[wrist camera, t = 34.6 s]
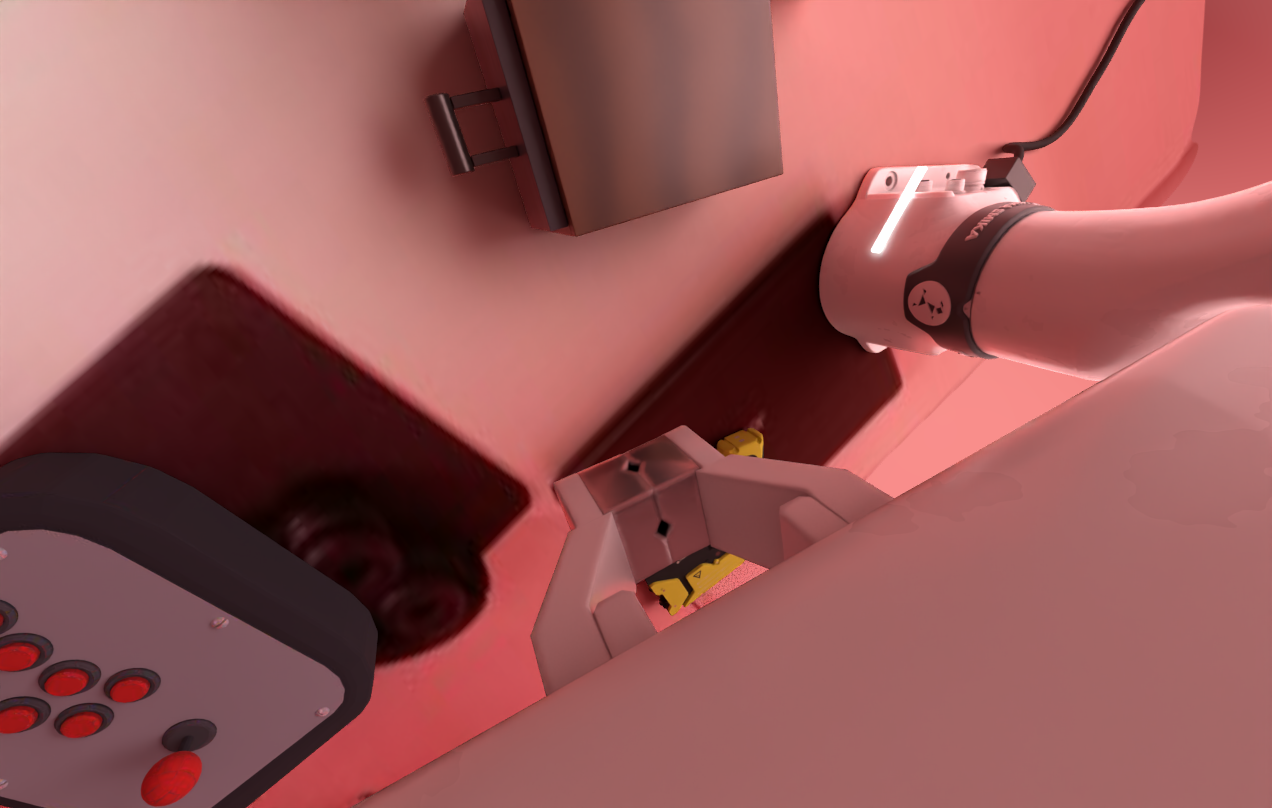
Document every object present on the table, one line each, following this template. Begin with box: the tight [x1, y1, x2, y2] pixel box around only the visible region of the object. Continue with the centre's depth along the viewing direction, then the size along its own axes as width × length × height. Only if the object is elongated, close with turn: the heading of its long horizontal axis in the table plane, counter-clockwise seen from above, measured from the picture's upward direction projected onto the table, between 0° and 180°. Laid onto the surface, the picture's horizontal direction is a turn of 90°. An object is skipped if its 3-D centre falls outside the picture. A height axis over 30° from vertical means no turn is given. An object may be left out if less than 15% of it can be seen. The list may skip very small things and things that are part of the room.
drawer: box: [424, 0, 568, 231], centre depth 30 cm, size 19×12×6 cm, turn 103°
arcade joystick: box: [0, 453, 378, 808], centre depth 30 cm, size 28×19×10 cm
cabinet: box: [505, 0, 783, 237], centre depth 31 cm, size 16×14×8 cm
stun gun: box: [645, 428, 764, 616], centre depth 51 cm, size 3×19×15 cm
